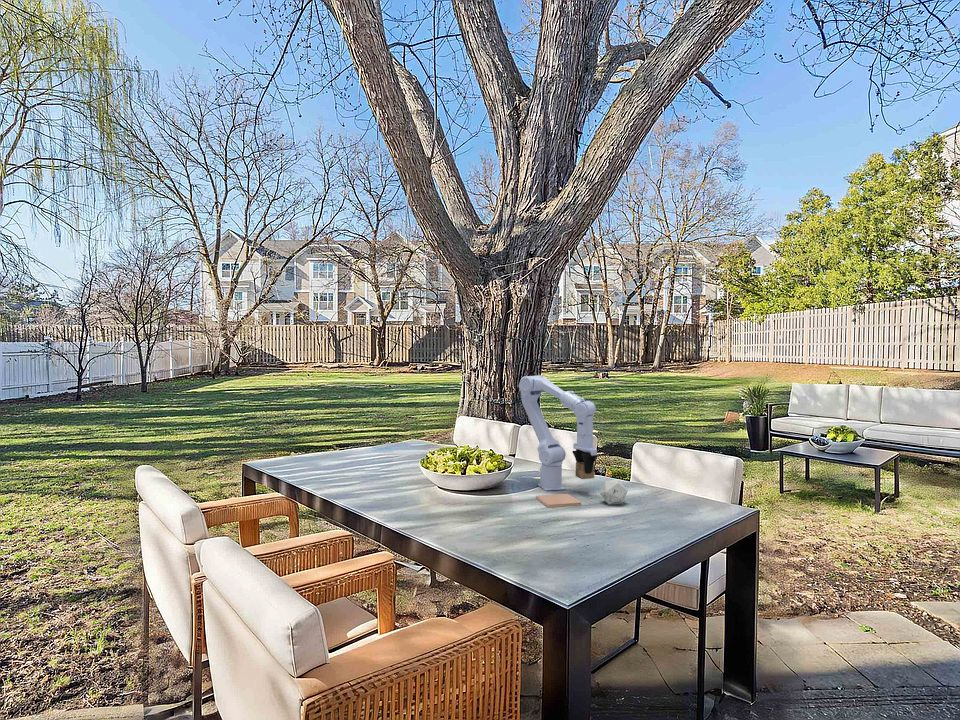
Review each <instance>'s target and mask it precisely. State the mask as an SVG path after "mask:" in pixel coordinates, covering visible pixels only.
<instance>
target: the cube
mask: <svg viewBox="0 0 960 720" xmlns="http://www.w3.org/2000/svg"><path fill="white" fill-rule="evenodd" d="M575 477H576V478H579V479H581V480H590V479H595V464H594V465H593V469H592V472H591V473H589V474H586V473H585V468H584V462H577V463H576V462H575Z"/></svg>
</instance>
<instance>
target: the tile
mask: <svg viewBox="0 0 960 720" xmlns="http://www.w3.org/2000/svg"><path fill="white" fill-rule="evenodd" d="M535 499H536V500H538V502H540V503H541V504H543V505H544V506H545V507H546V508H548V509H549V508H563V507H577V506H582V502H581V501H580V500H578V499H577V498H576V497H574V496H572V495H570V494H569V493H560V494H559V493H556V494H555V493H554V494H543V495H542V494H541V495H535Z"/></svg>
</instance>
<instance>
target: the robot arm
mask: <svg viewBox="0 0 960 720" xmlns="http://www.w3.org/2000/svg"><path fill="white" fill-rule="evenodd" d="M518 388H519V391H520V397H521V403H522V406H523V409H524V410H525V413H526V414H527V417H528V420H529V421H530V423H531V424H530V425H531V426H532V429H533V431H534V433H535V436H536V437H537V440H538V442H539V444H538V446H537V448H536V449H537V453H538V460H539V461H540V463H541V466H540V469H539V470H540V471H539V483H537V485H538V487H540V488H542V489H543V490H544V491H559V490H560V491H561V490H566V487H564V486H563V483H562V482H563V481H562V479H563V475H562V473H563V466H562V465H563V461H564V460H565V459H566V456H567V454H566V450H565V448H564V447H563V446H562V445H561V444H560V442H559V440H557V439H555V438H554V437H553V434H552V433H551V431H550V428H549V426H548V424H547V421H546V420H545V417H544V414H543V412H542V410H541V408H540V405H539V403H538V399H539V397H540V396H541V394H542V393H543V392H546V393H548V394H550V395H552V396H553V397H555V398H556V399H559V400H560V404H561V405H563V406H564V407H566V408H567V409H569V410H571V411H572V412H573V413H574V416H575V419H576V443H575V442H574V443H573V450H571V451H572V455H573V457H574V459H575V464H576V463H577V462H584V468H585V473H586V474H589V473H591V472H592V469H593V465H594V466H595V462H596V460H597V458H598V449H596V447H594V415H596V412H597V406H596V404H595V403H594V402H593V401H592V400H585V398H584V397H580V396H579V395H577V394H575V391H573V390H566V391H564V390H563V389H562V388H560V387H558V386H557V385H556V384H555V383H553V382H552V381H550V380H549V379H548V377H544V376H543V375H541V374H537V375H529V376H528V375H524V376H522V377H521V379H520V381H519V383H518Z"/></svg>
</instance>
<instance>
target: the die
mask: <svg viewBox="0 0 960 720" xmlns="http://www.w3.org/2000/svg"><path fill="white" fill-rule="evenodd" d="M627 494H628V489H627V488H626V486H624V484H623V483H622V482H621V481H620V480H619V479H613V480H612V479H610V480H604V482H603V485H602V488H601V490H600V492H599V495H600V496H601V497H602V498H603V500H604V502H606V503H607V504H608V505H610V506H611V505H623V503H624V501H625V498H626V495H627Z"/></svg>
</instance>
